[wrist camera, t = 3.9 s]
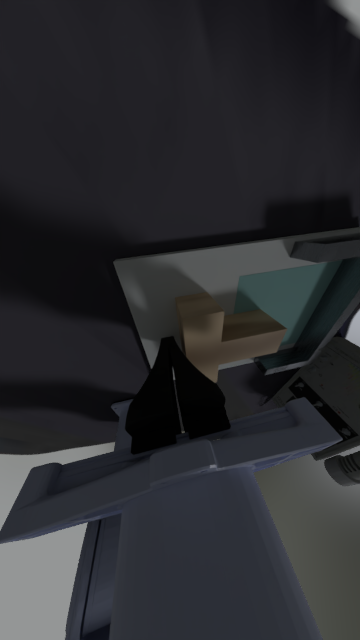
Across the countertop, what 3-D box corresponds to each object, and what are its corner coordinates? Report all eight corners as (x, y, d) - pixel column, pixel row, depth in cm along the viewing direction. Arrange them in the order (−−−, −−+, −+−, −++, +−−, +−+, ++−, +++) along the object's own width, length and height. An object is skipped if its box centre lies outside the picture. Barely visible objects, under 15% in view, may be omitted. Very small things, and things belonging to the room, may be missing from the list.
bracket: (297, 351, 20) (312, 364, 19) (253, 360, 20) (264, 375, 18) (369, 231, 12) (413, 231, 10) (295, 241, 11) (326, 244, 9)
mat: (292, 347, 21) (298, 352, 21) (156, 377, 19) (156, 383, 19) (360, 227, 12) (375, 226, 11) (116, 259, 10) (112, 261, 9)
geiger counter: (519, 455, 10) (308, 495, 24) (551, 440, 12) (335, 486, 25) (325, 336, 22) (258, 409, 35) (353, 335, 23) (277, 406, 36)
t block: (249, 347, 18) (268, 370, 15) (183, 361, 17) (189, 388, 14) (268, 281, 13) (302, 297, 10) (174, 297, 12) (182, 319, 9)
